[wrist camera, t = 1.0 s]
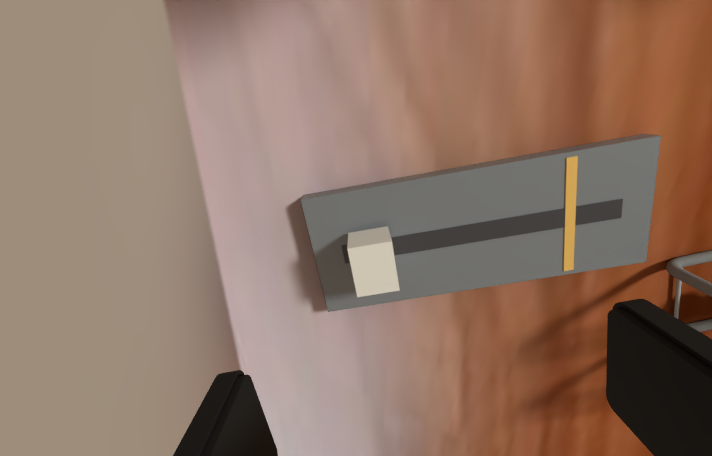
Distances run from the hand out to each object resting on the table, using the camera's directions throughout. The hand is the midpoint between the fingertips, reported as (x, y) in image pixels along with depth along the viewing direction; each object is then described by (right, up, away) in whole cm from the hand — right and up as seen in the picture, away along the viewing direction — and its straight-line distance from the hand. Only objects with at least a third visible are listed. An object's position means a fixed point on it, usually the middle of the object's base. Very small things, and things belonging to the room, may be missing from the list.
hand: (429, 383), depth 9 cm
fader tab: (0, +2, +26) cm, 26 cm away
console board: (+11, +4, +27) cm, 29 cm away
